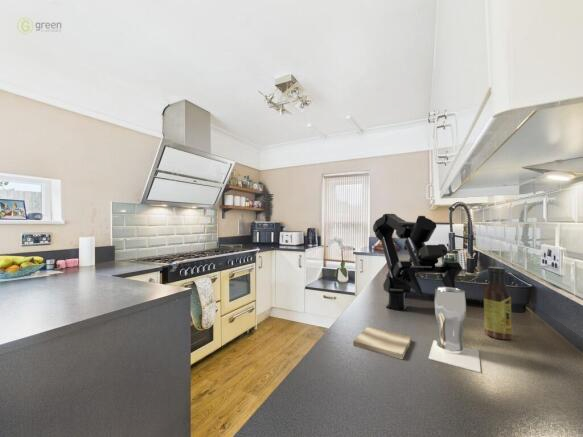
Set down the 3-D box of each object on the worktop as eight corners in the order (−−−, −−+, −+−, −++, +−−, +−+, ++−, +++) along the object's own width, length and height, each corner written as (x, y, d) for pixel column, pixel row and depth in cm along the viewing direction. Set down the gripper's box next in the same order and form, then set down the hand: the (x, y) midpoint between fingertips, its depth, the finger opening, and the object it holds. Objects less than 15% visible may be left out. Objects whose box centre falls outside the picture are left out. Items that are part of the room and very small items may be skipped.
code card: (433, 340, 70) (433, 340, 70) (478, 351, 65) (478, 350, 65) (428, 359, 61) (428, 358, 61) (480, 373, 55) (480, 372, 55)
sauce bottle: (512, 343, 70) (511, 270, 71) (484, 336, 74) (483, 267, 74) (510, 335, 75) (509, 267, 76) (484, 329, 79) (483, 265, 80)
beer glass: (437, 339, 71) (437, 285, 71) (467, 347, 66) (467, 289, 67) (432, 348, 65) (431, 289, 66) (464, 358, 61) (464, 294, 61)
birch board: (367, 330, 77) (367, 326, 77) (411, 341, 70) (411, 336, 70) (353, 345, 67) (353, 340, 67) (402, 359, 60) (402, 354, 60)
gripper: (396, 234, 78) (414, 278, 66) (458, 235, 77) (486, 279, 66) (387, 257, 85) (401, 300, 74) (443, 258, 85) (465, 301, 74)
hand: (437, 295), depth 72 cm, fingers open, 9 cm apart
